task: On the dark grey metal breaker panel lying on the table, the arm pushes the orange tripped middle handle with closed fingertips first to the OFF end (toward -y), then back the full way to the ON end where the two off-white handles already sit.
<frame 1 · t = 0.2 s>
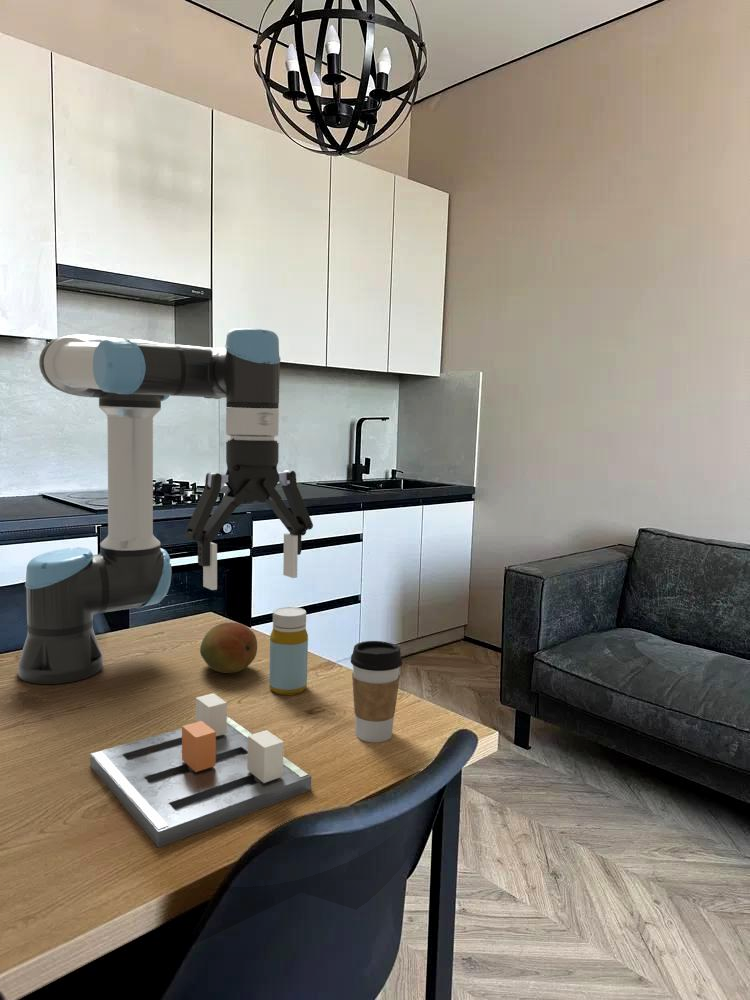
hand: (251, 582, 105), 27 cm above the table, fingers open, 13 cm apart
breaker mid: (198, 748, 100), point 4 cm above the table, slide at 0.0 cm
coffee cup: (373, 735, 116), on the table
breaker 2: (265, 759, 98), point 4 cm above the table, slide at 6.0 cm
bottle: (288, 689, 134), on the table
breaker panel: (198, 777, 101), on the table
fruit: (225, 671, 142), on the table
breaker 1: (211, 718, 110), point 4 cm above the table, slide at 6.0 cm
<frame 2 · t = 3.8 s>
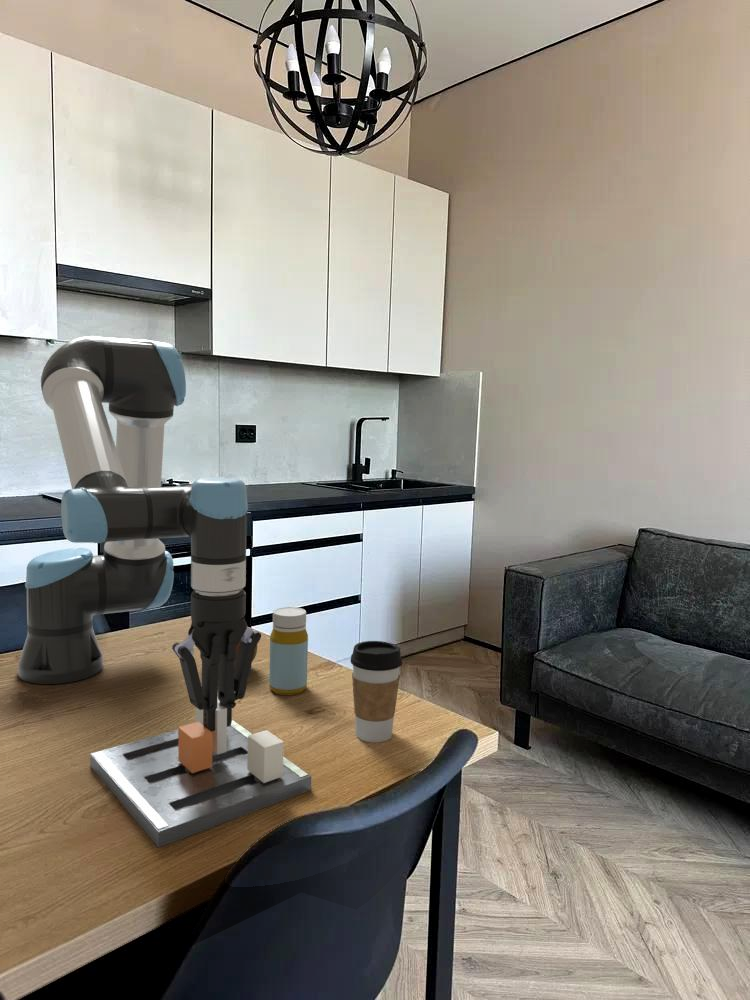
hand: (217, 749, 102), 3 cm above the table, fingers closed
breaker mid: (195, 750, 100), point 4 cm above the table, slide at -0.5 cm, touching gripper
everything else where it was.
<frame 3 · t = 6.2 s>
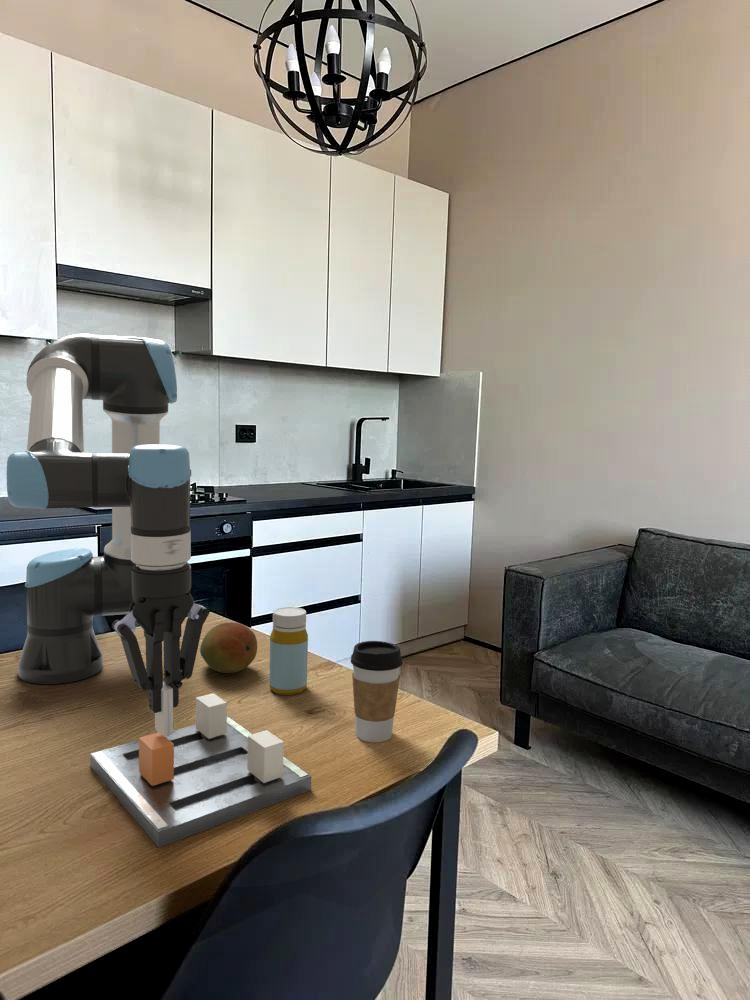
hand: (164, 731, 97), 8 cm above the table, fingers closed
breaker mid: (156, 761, 96), point 4 cm above the table, slide at -6.2 cm
everything else where it was.
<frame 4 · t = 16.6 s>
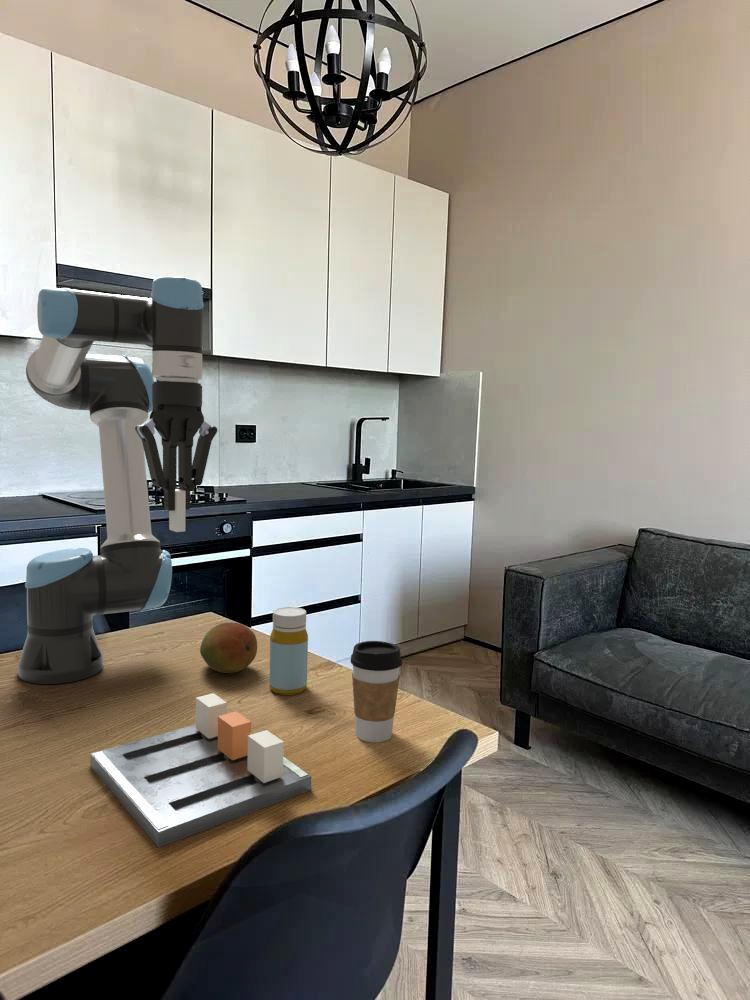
hand: (177, 530, 113), 32 cm above the table, fingers closed
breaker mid: (234, 738, 104), point 4 cm above the table, slide at 5.6 cm
everything else where it was.
at the end: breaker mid slide at 5.6 cm; breaker 1 slide at 6.0 cm; breaker 2 slide at 6.0 cm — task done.
